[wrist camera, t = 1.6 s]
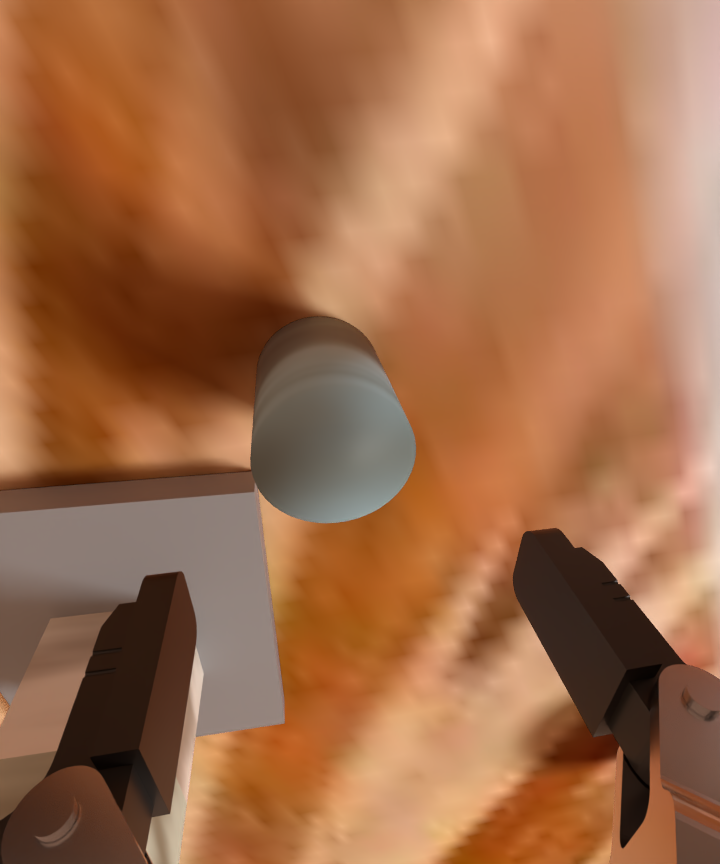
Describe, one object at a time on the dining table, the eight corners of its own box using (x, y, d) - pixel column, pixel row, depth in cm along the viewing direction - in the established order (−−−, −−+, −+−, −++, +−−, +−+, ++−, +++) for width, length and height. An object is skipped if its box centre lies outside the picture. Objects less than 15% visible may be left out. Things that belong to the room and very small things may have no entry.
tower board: (-94, 498, 19) (-120, 523, 18) (255, 470, 21) (254, 492, 20) (57, 732, 29) (47, 759, 28) (284, 699, 31) (284, 723, 30)
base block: (50, 618, 22) (-17, 761, 17) (184, 603, 23) (158, 735, 18) (87, 689, 25) (41, 828, 20) (203, 673, 26) (186, 803, 21)
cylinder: (250, 318, 17) (240, 391, 12) (381, 314, 18) (422, 381, 13) (262, 432, 20) (259, 529, 15) (376, 424, 21) (409, 515, 16)
